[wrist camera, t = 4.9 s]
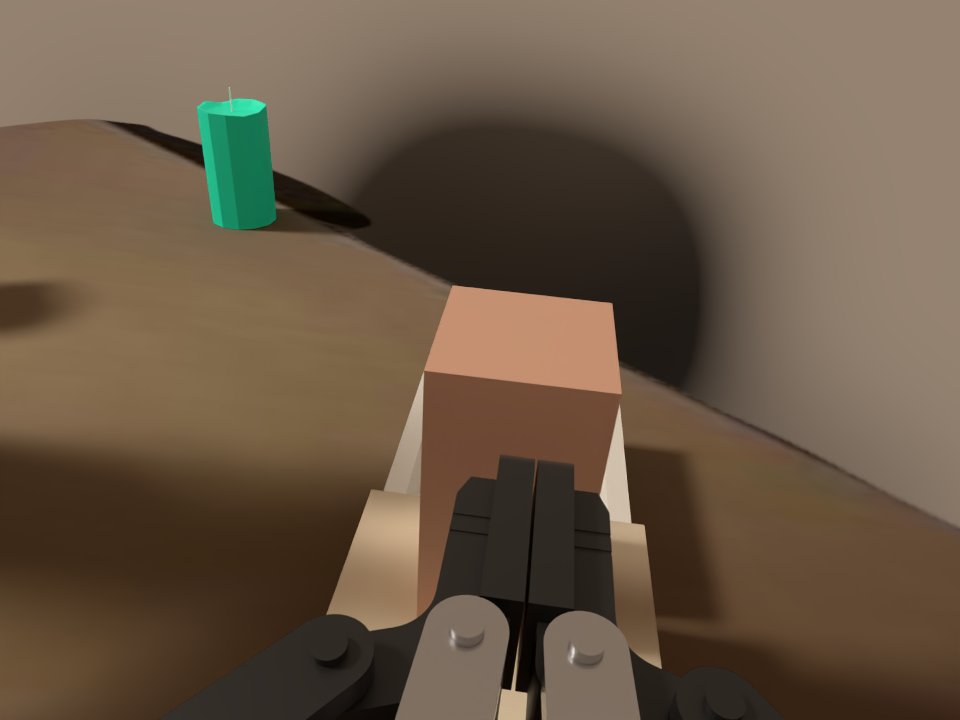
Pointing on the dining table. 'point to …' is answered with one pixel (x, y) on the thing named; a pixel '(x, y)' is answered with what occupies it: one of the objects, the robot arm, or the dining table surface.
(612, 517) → the tray
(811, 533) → the dining table surface
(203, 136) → the candle
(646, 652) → the cream block
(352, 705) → the robot arm
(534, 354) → the terracotta block
